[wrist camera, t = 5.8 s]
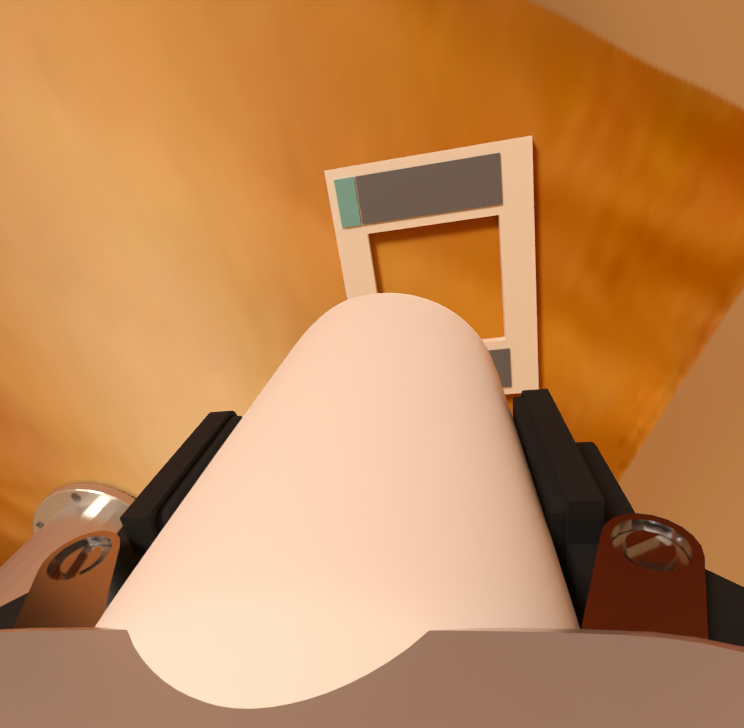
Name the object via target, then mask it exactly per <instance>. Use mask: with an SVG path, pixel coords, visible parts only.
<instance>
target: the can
mask: <svg viewBox="0 0 744 728" xmlns="http://www.w3.org/2000/svg"><path fill="white" fill-rule="evenodd" d="M95 627H101V628H114V629H125V630H127V631H128V633H129V636H130V638H131V641H132V643H133V646H134V647H135V649H136V650H137V652H138V653H139V655H140V656H141V658H142V659H143V661H144V662H145V663H146V664H147V665H148V666H149V668H150V669H151V670H152V671H153V672H154V673H155V674H157V675H158V676H159V677H160V678H161V679H162V680H163V681H165V682H166V683H168V684H169V685H171V686H172V687H173V688H175V689H176V690H178V691H180V692H182V693H184V694H186V695H188V696H190V697H193V698H196V699H198V700H201V701H203V702H206V703H210V704H214V705H217V706H223V707H230V708H245V709H255V708H266V707H275V706H280V705H286V704H291V703H295V702H299V701H303V700H307V699H310V698H313V697H316V696H319V695H322V694H325V693H328V692H330V691H333V690H335V689H337V688H340V687H342V686H345V685H347V684H349V683H351V682H353V681H355V680H357V679H359V678H361V677H363V676H365V675H367V674H369V673H371V672H372V671H374V670H376V669H377V668H379V667H381V666H382V665H384V664H386V663H387V662H389V661H390V660H392V659H393V658H395V657H396V656H398V655H399V654H400V653H402V652H403V651H405V650H406V649H408V648H409V647H410V646H411V645H413V644H414V643H415V642H416V641H417V640H418V639H420V638H421V637H422V636H423V635H424V634H425V633H427V632H428V631H429V630H447V629H467V628H573V629H580V627H579V623H578V620H577V617H576V614H575V611H574V607H573V604H572V601H571V598H570V595H569V592H568V589H567V585H566V582H565V579H564V576H563V573H562V570H561V567H560V563H559V560H558V557H557V554H556V551H555V548H554V545H553V541H552V538H551V535H550V532H549V529H548V526H547V523H546V520H545V516H544V513H543V510H542V507H541V504H540V501H539V498H538V495H537V492H536V488H535V485H534V482H533V479H532V476H531V473H530V470H529V467H528V464H527V461H526V457H525V454H524V451H523V448H522V445H521V442H520V439H519V436H518V433H517V430H516V427H515V424H514V421H513V417H512V414H511V411H510V408H509V405H508V402H507V399H506V396H505V393H504V390H503V387H502V384H501V381H500V378H499V375H498V373H497V370H496V367H495V365H494V362H493V359H492V357H491V355H490V353H489V351H488V349H487V348H486V346H485V344H484V343H483V341H482V340H481V338H480V337H479V335H478V334H477V333H476V332H475V331H474V330H473V328H472V327H471V326H470V325H469V324H468V323H467V322H465V321H464V320H463V319H462V318H461V317H459V316H458V315H457V314H455V313H454V312H452V311H451V310H449V309H447V308H446V307H444V306H442V305H440V304H438V303H435V302H433V301H430V300H428V299H425V298H421V297H418V296H413V295H408V294H400V293H377V294H368V295H362V296H358V297H354V298H351V299H349V300H346V301H344V302H342V303H340V304H338V305H336V306H335V307H333V308H332V309H330V310H329V311H327V312H326V313H325V314H324V315H322V316H321V317H320V318H319V319H318V320H317V321H316V322H315V323H314V324H313V325H312V326H311V327H310V328H309V329H308V330H307V331H306V332H305V333H304V335H303V336H302V337H301V338H300V339H299V341H298V342H297V343H296V345H295V346H294V347H293V349H292V350H291V351H290V353H289V354H288V355H287V357H286V358H285V360H284V361H283V362H282V364H281V365H280V366H279V368H278V369H277V370H276V372H275V373H274V375H273V376H272V377H271V379H270V380H269V381H268V383H267V384H266V386H265V387H264V388H263V390H262V391H261V393H260V394H259V395H258V397H257V398H256V399H255V401H254V402H253V404H252V405H251V406H250V408H249V409H248V411H247V412H246V413H245V415H244V416H243V417H242V419H241V420H240V422H239V423H238V424H237V426H236V427H235V429H234V430H233V431H232V433H231V434H230V436H229V437H228V438H227V440H226V441H225V442H224V444H223V445H222V447H221V448H220V449H219V451H218V452H217V454H216V455H215V456H214V458H213V459H212V461H211V462H210V463H209V465H208V466H207V468H206V469H205V470H204V472H203V473H202V475H201V476H200V477H199V479H198V480H197V482H196V483H195V484H194V486H193V487H192V489H191V490H190V491H189V493H188V494H187V496H186V497H185V498H184V500H183V501H182V503H181V504H180V505H179V507H178V508H177V510H176V511H175V512H174V514H173V515H172V517H171V518H170V519H169V521H168V522H167V524H166V525H165V526H164V528H163V529H162V531H161V532H160V533H159V535H158V536H157V538H156V539H155V540H154V542H153V543H152V545H151V546H150V548H149V549H148V550H147V552H146V553H145V555H144V556H143V558H142V559H141V560H140V562H139V563H138V565H137V566H136V567H135V569H134V570H133V572H132V573H131V575H130V576H129V577H128V579H127V580H126V582H125V583H124V585H123V586H122V587H121V589H120V590H119V592H118V593H117V595H116V596H115V598H114V599H113V600H112V602H111V603H110V605H109V606H108V608H107V609H106V611H105V612H104V614H103V615H102V617H101V618H100V620H99V621H98V623H97V624H96V626H95Z"/></svg>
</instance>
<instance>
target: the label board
mask: <svg viewBox="0 0 744 728" xmlns="http://www.w3.org/2000/svg"><path fill="white" fill-rule="evenodd" d="M324 172H325V178H326V183H327V189H328V194H329V200H330V205H331V211H332V217H333V222H334V228H335V233H336V239H337V244H338V250H339V256H340V261H341V267H342V272H343V278H344V283H345V289H346V295H347V300H349V299H351V298H354V297H358V296H362V295H368V294H377V293H378V290H377V283H376V277H375V270H374V264H373V257H372V251H371V244H370V238H369V234H370V233H377V232H384V231H391V230H398V229H405V228H412V227H418V226H425V225H432V224H439V223H446V222H453V221H460V220H467V219H474V218H481V217H488V216H495V215H498V222H499V241H500V260H501V279H502V298H503V316H504V335H505V337H499V338H490V339H481V340H482V341H483V343H484V344H485V346H486V348H487V349H488V351H489V353H490V355H491V357H492V359H493V362H494V365H495V367H496V370H497V373H498V375H499V378H500V381H501V384H502V387H503V390H504V393H505V394H516V393H522V390H536V389H539V379H538V340H537V302H536V263H535V224H534V185H533V146H532V136H527V137H521V138H515V139H509V140H503V141H497V142H491V143H485V144H479V145H473V146H467V147H461V148H456V149H450V150H444V151H438V152H432V153H426V154H420V155H414V156H408V157H402V158H396V159H390V160H385V161H379V162H373V163H367V164H361V165H355V166H349V167H343V168H337V169H331V170H325V171H324Z"/></svg>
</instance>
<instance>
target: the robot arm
mask: <svg viewBox="0 0 744 728" xmlns="http://www.w3.org/2000/svg"><path fill="white" fill-rule="evenodd" d="M241 419H242V417H241V416H237V414H236V413H235V412H234V411H223V412H211V413H209V414H208V415H207V416H206V418H205V419H204V420H203V421H202V422H201V423H200V425H199V426H198V427H197V428H196V429H195V430H194V432H193V433H192V434H191V435H190V436H189V437H188V439H187V440H186V441H185V442H184V443H183V444H182V446H181V447H180V448H179V449H178V450H177V451H176V453H175V454H174V455H173V456H172V457H171V458H170V460H169V461H168V462H167V463H166V464H165V465H164V467H163V468H162V469H161V470H160V471H159V472H158V474H157V475H156V476H155V477H154V478H153V479H152V481H151V482H150V483H149V484H148V485H147V486H146V488H145V489H144V490H143V491H142V492H141V493H140V495H139V496H138V497H137V498H136V499H134V498H133V497H131V496H130V495H128V494H126V493H123V492H121V491H119V490H117V489H114V488H110V487H107V486H104V485H98V484H91V483H76V484H71V485H67V486H64V487H61V488H59V489H57V490H55V491H54V492H53V493H52V494H50V495H49V496H48V497H47V498H45V499H44V500H43V502H42V503H41V504H40V505H39V506H38V508H37V510H36V512H35V514H34V518H33V534H34V535H33V536H32V537H31V538H30V539H29V540H28V541H27V542H26V543H25V544H24V545H23V546H22V547H21V548H20V549H19V550H18V551H17V552H16V553H15V554H14V555H13V556H12V557H10V558H9V559H8V560H7V561H6V562H5V563H4V564H3V565H2V566H1V567H0V728H744V587H742V586H740V585H738V584H736V583H734V582H731V581H729V580H727V579H725V578H723V577H721V576H719V575H717V574H715V573H712V572H710V571H708V570H706V569H705V556H704V553H703V549H702V546H701V545H700V544H699V542H698V541H697V540H696V538H695V537H694V536H693V535H692V534H691V533H689V532H688V531H687V530H685V529H684V528H683V527H681V526H679V525H677V524H675V523H673V522H671V521H669V520H667V519H664V518H660V517H657V516H654V515H647V514H640V513H635V512H634V510H633V508H632V507H631V505H630V503H629V501H628V500H627V498H626V496H625V494H624V493H623V491H622V489H621V488H620V486H619V484H618V482H617V481H616V479H615V477H614V476H613V474H612V472H611V470H610V469H609V467H608V465H607V464H606V462H605V460H604V458H603V457H602V455H601V453H600V452H599V450H598V448H597V446H596V445H595V444H594V443H593V442H577V443H575V441H574V439H573V437H572V435H571V433H570V431H569V429H568V427H567V425H566V424H565V422H564V420H563V418H562V416H561V414H560V412H559V410H558V408H557V406H556V404H555V402H554V400H553V398H552V396H551V394H550V392H549V391H548V389H536V390H522V393H521V397H513V421H514V424H515V427H516V430H517V433H518V436H519V439H520V442H521V445H522V448H523V451H524V454H525V457H526V461H527V464H528V467H529V470H530V473H531V476H532V479H533V482H534V485H535V488H536V492H537V495H538V498H539V501H540V504H541V507H542V510H543V513H544V516H545V520H546V523H547V526H548V529H549V532H550V535H551V538H552V541H553V545H554V548H555V551H556V554H557V557H558V560H559V563H560V567H561V570H562V573H563V576H564V579H565V582H566V585H567V589H568V592H569V595H570V598H571V601H572V604H573V607H574V611H575V614H576V617H577V620H578V623H579V627H580V629H573V628H467V629H447V630H429V631H428V632H427V633H425V634H424V635H423V636H422V637H421V638H420V639H418V640H417V641H416V642H415V643H414V644H413V645H411V646H410V647H409V648H408V649H406V650H405V651H403V652H402V653H400V654H399V655H398V656H396V657H395V658H393V659H392V660H390V661H389V662H387V663H386V664H384V665H382V666H381V667H379V668H377V669H376V670H374V671H372V672H371V673H369V674H367V675H365V676H363V677H361V678H359V679H357V680H355V681H353V682H351V683H349V684H347V685H345V686H342V687H340V688H337V689H335V690H333V691H330V692H328V693H325V694H322V695H319V696H316V697H313V698H310V699H307V700H303V701H299V702H295V703H291V704H286V705H280V706H275V707H266V708H255V709H245V708H230V707H223V706H217V705H214V704H210V703H206V702H203V701H201V700H198V699H196V698H193V697H190V696H188V695H186V694H184V693H182V692H180V691H178V690H176V689H175V688H173V687H172V686H171V685H169V684H168V683H166V682H165V681H163V680H162V679H161V678H160V677H159V676H158V675H157V674H155V673H154V672H153V671H152V670H151V669H150V668H149V666H148V665H147V664H146V663H145V662H144V661H143V659H142V658H141V656H140V655H139V653H138V652H137V650H136V649H135V647H134V646H133V643H132V641H131V638H130V636H129V633H128V631H127V630H125V629H114V628H101V627H95V626H96V624H97V623H98V621H99V620H100V618H101V617H102V615H103V614H104V612H105V611H106V609H107V608H108V606H109V605H110V603H111V602H112V600H113V599H114V598H115V596H116V595H117V593H118V592H119V590H120V589H121V587H122V586H123V585H124V583H125V582H126V580H127V579H128V577H129V576H130V575H131V573H132V572H133V570H134V569H135V567H136V566H137V565H138V563H139V562H140V560H141V559H142V558H143V556H144V555H145V553H146V552H147V550H148V549H149V548H150V546H151V545H152V543H153V542H154V540H155V539H156V538H157V536H158V535H159V533H160V532H161V531H162V529H163V528H164V526H165V525H166V524H167V522H168V521H169V519H170V518H171V517H172V515H173V514H174V512H175V511H176V510H177V508H178V507H179V505H180V504H181V503H182V501H183V500H184V498H185V497H186V496H187V494H188V493H189V491H190V490H191V489H192V487H193V486H194V484H195V483H196V482H197V480H198V479H199V477H200V476H201V475H202V473H203V472H204V470H205V469H206V468H207V466H208V465H209V463H210V462H211V461H212V459H213V458H214V456H215V455H216V454H217V452H218V451H219V449H220V448H221V447H222V445H223V444H224V442H225V441H226V440H227V438H228V437H229V436H230V434H231V433H232V431H233V430H234V429H235V427H236V426H237V424H238V423H239V422H240V420H241Z"/></svg>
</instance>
